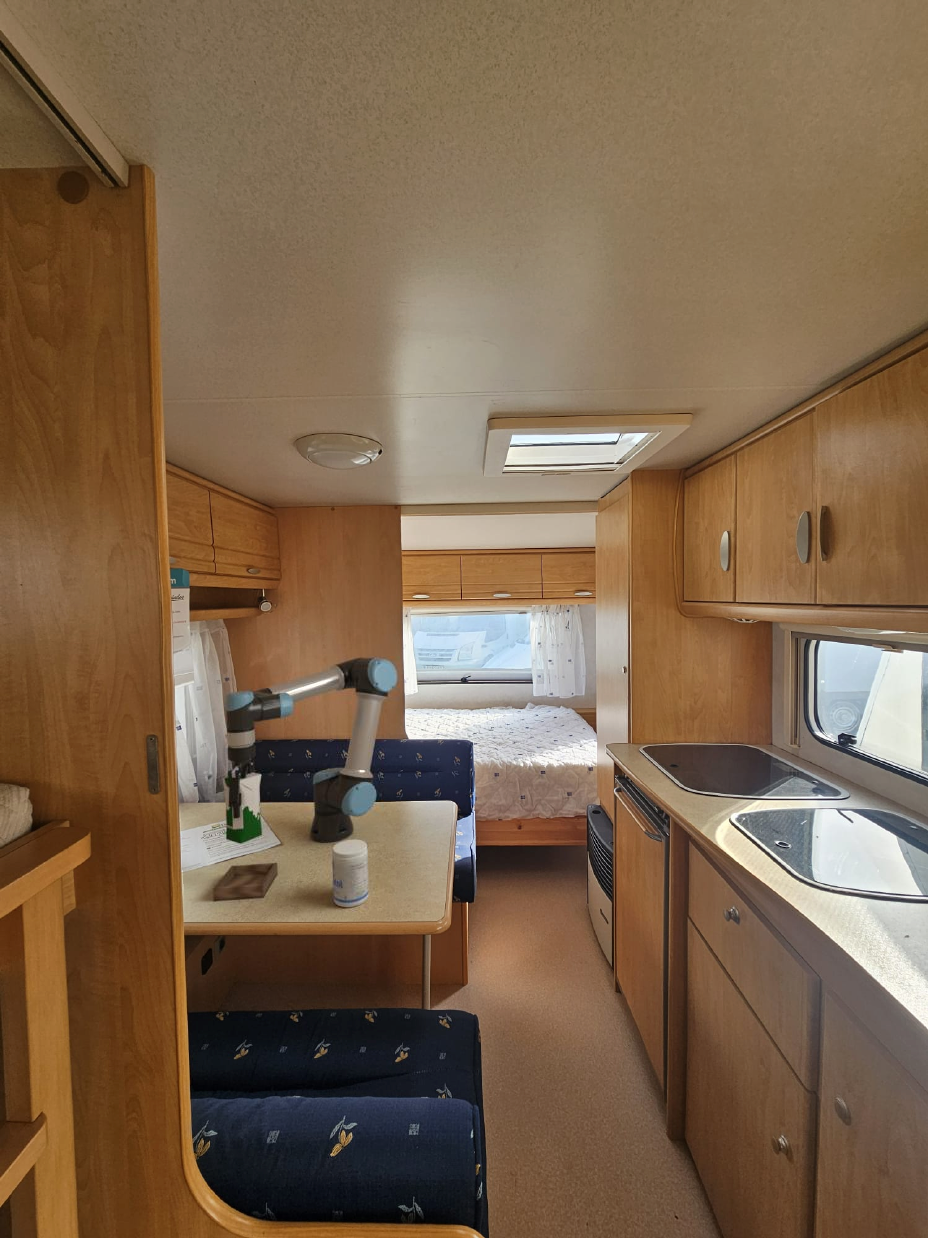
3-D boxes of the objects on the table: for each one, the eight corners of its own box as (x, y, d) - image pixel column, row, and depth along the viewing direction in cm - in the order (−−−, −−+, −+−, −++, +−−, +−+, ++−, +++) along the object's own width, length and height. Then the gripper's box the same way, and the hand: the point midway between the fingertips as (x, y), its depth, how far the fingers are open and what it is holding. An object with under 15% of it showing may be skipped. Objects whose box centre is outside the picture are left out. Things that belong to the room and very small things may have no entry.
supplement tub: (326, 901, 143) (324, 848, 143) (354, 886, 150) (352, 836, 150) (348, 913, 137) (346, 857, 137) (376, 897, 144) (374, 844, 144)
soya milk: (221, 840, 151) (218, 771, 151) (248, 828, 158) (246, 763, 158) (240, 846, 146) (237, 775, 146) (267, 834, 154) (264, 766, 154)
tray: (277, 874, 160) (277, 862, 160) (263, 897, 146) (262, 885, 146) (232, 877, 159) (231, 865, 159) (213, 901, 145) (213, 889, 145)
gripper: (241, 737, 163) (244, 809, 163) (212, 755, 142) (216, 838, 142) (265, 736, 163) (268, 808, 163) (241, 753, 142) (244, 836, 142)
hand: (244, 822), depth 152 cm, fingers closed on soya milk, 8 cm apart
